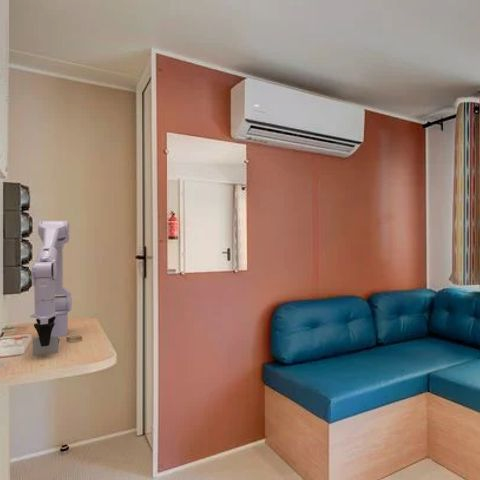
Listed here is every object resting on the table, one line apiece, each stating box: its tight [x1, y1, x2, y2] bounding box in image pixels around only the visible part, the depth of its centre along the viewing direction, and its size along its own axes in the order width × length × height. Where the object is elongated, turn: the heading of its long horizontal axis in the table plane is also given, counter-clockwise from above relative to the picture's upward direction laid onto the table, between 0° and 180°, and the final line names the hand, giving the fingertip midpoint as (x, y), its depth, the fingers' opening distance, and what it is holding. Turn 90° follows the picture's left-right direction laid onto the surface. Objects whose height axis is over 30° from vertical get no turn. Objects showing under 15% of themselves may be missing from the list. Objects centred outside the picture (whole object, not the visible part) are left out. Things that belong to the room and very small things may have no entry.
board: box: [32, 335, 59, 357], centre depth 115 cm, size 2×7×6 cm, turn 116°
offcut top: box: [65, 334, 83, 344], centre depth 128 cm, size 4×4×2 cm
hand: (45, 342), depth 115 cm, fingers open, 7 cm apart
